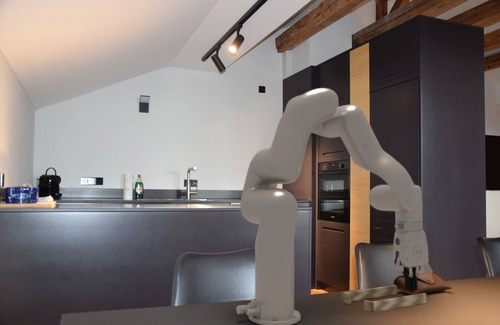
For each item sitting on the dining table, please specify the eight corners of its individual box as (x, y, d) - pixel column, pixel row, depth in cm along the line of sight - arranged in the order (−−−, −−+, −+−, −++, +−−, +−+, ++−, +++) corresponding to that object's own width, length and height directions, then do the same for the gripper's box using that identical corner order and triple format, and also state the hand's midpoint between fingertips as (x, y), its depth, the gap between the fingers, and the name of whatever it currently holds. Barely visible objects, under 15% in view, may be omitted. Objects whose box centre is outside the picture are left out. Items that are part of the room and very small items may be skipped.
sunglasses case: (416, 295, 125) (408, 272, 128) (398, 300, 130) (391, 278, 133) (454, 288, 134) (446, 267, 137) (436, 293, 139) (429, 272, 142)
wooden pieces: (371, 312, 111) (371, 302, 111) (342, 301, 121) (342, 292, 122) (426, 302, 120) (426, 293, 121) (394, 293, 131) (394, 285, 131)
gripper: (400, 229, 120) (402, 296, 119) (437, 226, 127) (439, 289, 126) (380, 227, 127) (382, 290, 126) (416, 224, 134) (418, 283, 133)
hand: (411, 289), depth 126 cm, fingers closed
